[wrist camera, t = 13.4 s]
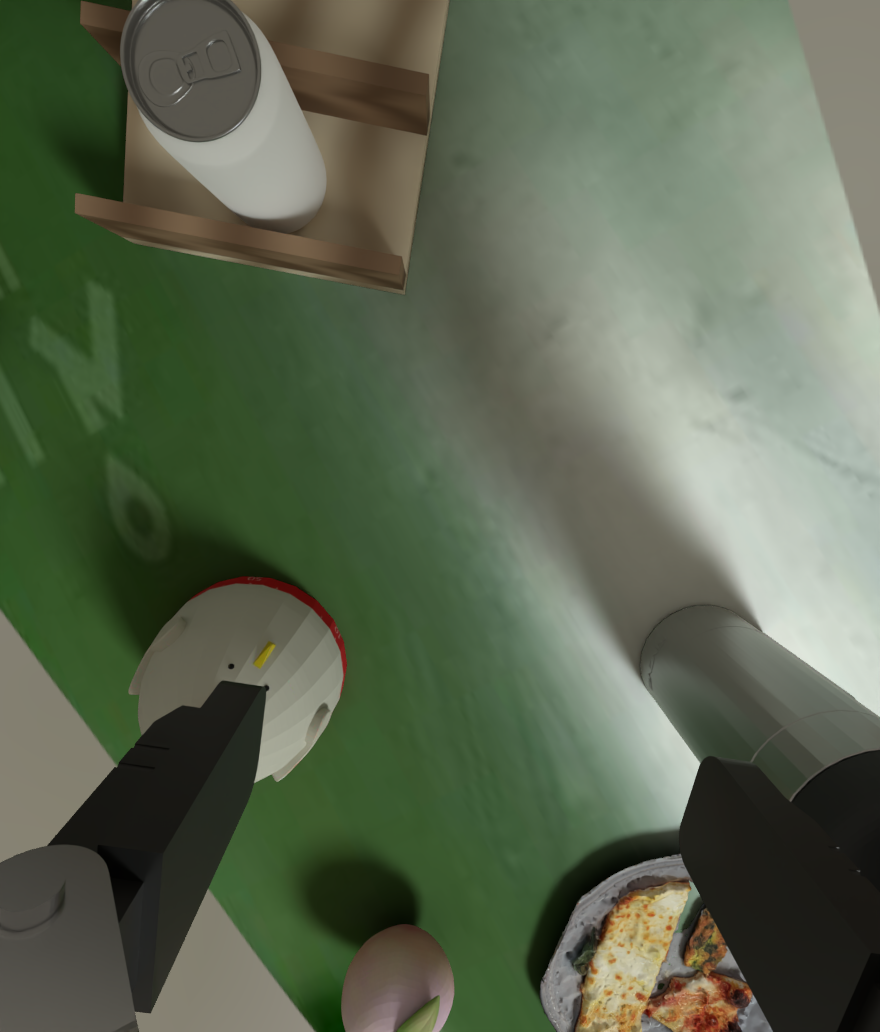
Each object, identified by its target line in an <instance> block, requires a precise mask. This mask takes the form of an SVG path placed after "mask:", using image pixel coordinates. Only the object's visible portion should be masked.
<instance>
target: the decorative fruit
mask: <svg viewBox="0 0 880 1032" xmlns="http://www.w3.org/2000/svg"><path fill="white" fill-rule="evenodd" d="M453 997H454V980H453V974H452V970H451V967H450V964H449V961H448V959H447V956H446V954H445V953H444V951H443V949H442V948H441V946H440V945H439V943H438V942H437V941H436V940H435V939H434V938H433V937H432V936H431V935H430V934H429V933H427V932H426V931H424V930H422V929H421V928H419V927H417V926H414V925H409V924H401V925H396V926H392V927H389V928H387V929H384V930H383V931H381V932H379V933H377V934H375V935H374V936H372V937H371V938H370V939H368V940H367V941H366V942H365V943H364V944H363V946H362V947H361V948H360V949H359V951H358V952H357V954H356V955H355V957H354V958H353V960H352V962H351V964H350V966H349V968H348V971H347V974H346V977H345V981H344V986H343V993H342V1006H341V1007H342V1018H343V1024H344V1027H345V1030H346V1032H439V1031H440V1030H441V1028H442V1027H443V1025H444V1023H445V1022H446V1020H447V1017H448V1015H449V1012H450V1010H451V1007H452V1003H453Z"/></svg>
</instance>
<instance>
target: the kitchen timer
mask: <svg viewBox="0 0 880 1032" xmlns="http://www.w3.org/2000/svg"><path fill="white" fill-rule="evenodd" d="M346 667H347V662H346V654H345V647H344V641H343V639H342V637H341V635H340V633H339V630H338V628H337V626H336V624H335V622H334V620H333V618H332V617H331V616H330V615H329V614H328V613H327V612H326V610H325V609H324V608H323V607H322V606H321V605H320V604H319V602H318V601H317V600H315V599H314V598H312V597H311V596H309V595H308V594H306V593H305V592H303V591H302V590H300V589H299V588H297V587H296V586H293V585H290V584H287V583H284V582H281V581H278V580H275V579H272V578H264V577H245V576H243V577H238V578H234V579H229V580H225V581H221V582H217V583H215V584H214V585H212V586H210V587H208V588H207V589H205V590H203V591H201V592H199V593H198V594H196V595H195V596H194V597H192V598H191V599H190V600H189V601H188V602H186V604H185V605H184V606H183V607H182V608H181V609H180V610H179V611H178V612H177V613H176V614H175V615H174V616H173V618H172V619H171V620H169V621H168V622H167V623H166V624H165V625H164V626H163V628H162V629H161V630H160V632H159V633H158V635H157V636H156V638H155V639H154V641H153V642H152V644H151V645H150V647H149V648H148V650H147V652H146V653H145V655H144V657H143V659H142V661H141V663H140V664H139V667H138V669H137V671H136V673H135V675H134V677H133V680H132V682H131V685H130V688H129V694H131V695H140V696H139V706H138V720H139V725H140V730H141V734H142V735H143V734H144V733H145V732H146V730H147V729H148V728H149V727H150V726H151V725H152V723H153V722H154V721H156V720H158V719H159V718H161V717H163V716H165V715H166V714H168V713H170V712H171V711H173V710H175V709H177V708H178V707H180V706H182V705H185V706H191V707H198V708H201V706H202V705H203V704H204V702H205V701H206V700H207V698H208V697H209V696H210V694H211V693H212V692H213V690H214V689H215V688H216V686H217V685H218V684H219V683H220V682H221V681H223V680H225V681H231V682H238V683H244V684H251V685H257V686H264V687H265V688H266V703H265V712H264V720H263V729H262V737H261V745H260V754H259V762H258V768H257V773H256V777H255V781H254V783H255V782H257V781H259V780H261V779H263V778H265V777H267V776H269V775H271V774H272V775H273V777H274V779H275V781H280V780H281V779H282V778H284V777H285V776H286V775H287V774H288V773H289V772H290V771H291V770H292V769H293V768H294V767H295V766H296V765H297V764H298V763H299V762H300V761H301V760H302V759H303V757H304V756H305V755H306V754H307V753H308V752H309V751H310V749H311V748H312V747H313V745H314V744H315V742H316V741H317V739H318V738H319V736H320V735H321V733H322V732H323V730H324V729H325V727H326V726H327V724H328V722H329V720H330V717H331V713H332V712H333V710H334V708H335V706H336V704H337V702H338V700H339V698H340V695H341V692H342V689H343V684H344V678H345V673H346Z"/></svg>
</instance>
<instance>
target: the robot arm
mask: <svg viewBox="0 0 880 1032" xmlns="http://www.w3.org/2000/svg"><path fill="white" fill-rule="evenodd" d="M640 666H641V675H642V678H643V682H644V685H645V686H646V688H647V689H648V691H649V693H650V694H651V696H652V697H653V698H654V700H655V701H656V703H657V704H658V705H659V707H660V708H661V709H662V711H663V712H664V714H665V715H666V716H667V718H668V719H669V721H670V722H671V724H672V725H673V726H674V728H675V729H676V730H677V732H678V733H679V734H680V736H681V737H682V739H683V740H684V741H685V743H686V744H687V745H688V747H689V748H690V750H691V751H692V752H693V754H694V755H695V756H696V758H697V759H698V760H699V762H700V763H701V764H700V766H699V769H698V772H697V775H696V778H695V782H694V785H693V788H692V791H691V794H690V797H689V800H688V803H687V806H686V810H685V813H684V816H683V819H682V822H681V826H680V831H679V846H680V853H681V857H682V860H683V863H684V866H685V868H686V870H687V872H688V873H689V875H690V877H691V879H692V881H693V883H694V885H695V887H696V888H697V890H698V892H699V894H700V896H701V898H702V900H703V901H704V903H705V905H706V907H707V909H708V911H709V913H710V915H711V916H712V918H713V920H714V922H715V924H716V926H717V928H718V930H719V931H720V933H721V935H722V937H723V939H724V941H725V943H726V945H727V946H728V948H729V950H730V952H731V954H732V956H733V958H734V960H735V961H736V963H737V965H738V967H739V969H740V971H741V973H742V974H743V976H744V978H745V980H746V982H747V984H748V986H749V988H750V989H751V991H752V993H753V995H754V997H755V999H756V1001H757V1003H758V1004H759V1006H760V1008H761V1010H762V1012H763V1014H764V1016H765V1018H766V1019H767V1021H768V1023H769V1025H770V1027H771V1029H772V1031H773V1032H880V717H879V716H878V715H876V714H875V713H873V712H872V711H871V710H869V709H868V708H866V707H865V706H864V705H862V704H861V703H859V702H858V701H857V700H856V699H855V698H854V697H853V696H852V695H850V694H849V693H848V692H846V691H845V690H843V689H842V688H841V687H839V686H838V685H836V684H835V683H834V682H832V681H831V680H829V679H828V678H827V677H825V676H824V675H822V674H821V673H820V672H818V671H817V670H815V669H814V668H813V667H811V666H810V665H808V664H807V663H806V662H804V661H803V660H801V659H800V658H799V657H797V656H796V655H794V654H793V653H792V652H790V651H789V650H787V649H786V648H785V647H783V646H782V645H780V644H779V643H778V642H776V641H775V640H773V639H772V638H771V637H769V636H768V635H766V634H765V633H762V632H761V631H759V630H758V629H757V628H755V627H754V626H752V625H751V624H749V623H748V622H747V621H745V620H744V619H742V618H741V617H740V616H738V615H737V614H735V613H734V612H732V611H730V610H727V609H725V608H722V607H717V606H711V605H702V606H693V607H689V608H685V609H682V610H680V611H678V612H675V613H673V614H672V615H670V616H669V617H667V618H666V619H664V620H663V621H662V622H661V623H660V624H659V625H658V626H657V627H656V628H655V629H654V630H653V631H652V633H651V634H650V636H649V637H648V639H647V640H646V643H645V645H644V648H643V650H642V655H641V661H640ZM265 703H266V688H265V687H264V686H257V685H251V684H244V683H238V682H231V681H225V680H223V681H221V682H220V683H219V684H218V685H217V686H216V688H215V689H214V690H213V692H212V693H211V694H210V696H209V697H208V698H207V700H206V701H205V702H204V704H203V705H202V706H201V708H198V707H191V706H185V705H182V706H180V707H178V708H177V709H175V710H173V711H171V712H170V713H168V714H166V715H165V716H163V717H161V718H159V719H158V720H156V721H154V722H153V723H152V725H151V726H150V727H149V728H148V729H147V730H146V732H145V733H144V734H143V735H142V736H141V737H140V739H139V740H138V741H137V742H136V743H135V746H134V748H131V749H130V750H129V751H128V752H127V754H126V755H125V756H124V757H123V758H122V759H121V761H120V762H119V765H118V767H117V768H116V767H115V768H114V769H113V770H112V771H111V772H110V773H109V775H108V776H107V777H106V778H105V779H104V780H103V781H102V783H101V784H100V785H99V786H98V787H97V788H96V790H95V791H94V792H93V793H92V794H91V796H90V797H89V798H88V799H87V800H86V801H85V802H84V804H83V805H82V806H81V807H80V808H79V809H78V810H77V812H76V813H75V814H74V815H73V816H72V817H71V819H70V820H69V821H68V822H67V823H66V824H65V826H64V827H63V828H62V829H61V830H60V831H59V833H58V834H57V835H56V836H55V837H54V838H53V840H52V841H51V842H50V843H49V844H48V845H47V846H45V847H40V848H36V849H32V850H29V851H26V852H24V853H21V854H18V855H15V856H13V857H11V858H9V859H7V860H5V861H3V862H1V863H0V1032H139V1029H138V1025H137V1020H136V1015H135V1012H143V1013H151V1011H152V1009H153V1007H154V1005H155V1003H156V1001H157V998H158V996H159V994H160V992H161V989H162V987H163V985H164V983H165V981H166V979H167V977H168V974H169V972H170V970H171V968H172V966H173V964H174V961H175V959H176V957H177V955H178V953H179V950H180V948H181V946H182V944H183V942H184V940H185V937H186V935H187V933H188V931H189V929H190V927H191V924H192V922H193V920H194V917H195V916H196V914H197V911H198V909H199V907H200V905H201V903H202V900H203V898H204V896H205V894H206V891H207V890H208V887H209V885H210V883H211V881H212V879H213V877H214V874H215V872H216V870H217V868H218V866H219V864H220V861H221V859H222V857H223V855H224V853H225V850H226V848H227V846H228V844H229V842H230V840H231V837H232V835H233V833H234V831H235V829H236V827H237V824H238V822H239V820H240V818H241V816H242V814H243V811H244V809H245V807H246V805H247V802H248V800H249V797H250V795H251V792H252V788H253V785H254V781H255V777H256V773H257V768H258V762H259V754H260V745H261V737H262V729H263V720H264V712H265Z"/></svg>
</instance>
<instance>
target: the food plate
mask: <svg viewBox="0 0 880 1032" xmlns="http://www.w3.org/2000/svg"><path fill="white" fill-rule="evenodd" d="M689 881H691V882H693V881H692V879H691V877H690V875H689V873H688V872H687V870H686V868H685V866H684V863H683V860H682V857H681V854H678V855H672V857H669V856H667V857H664V858H663V859H662V858H659V859H656V860H655V859H652V860H651V861H650V860H649V861H648V862H647V861H645V862H641V863H639V864H636V865H634V866H630V867H629V868H625V869H623V871H620V872H618V873H616V874H615V875H613V876H611V877H609V878H607V879H606V880H605V881H602V882H601V883H600V884H598V885H597V886H596V887H594V888H593V889H592V890H591V891H589V892H588V893H587V894H586V895H584V896H582V897H581V898H580V900H578V903H577V904H576V907H575V909H574V911H573V912H572V915H571V916H570V919H569V922H568V924H567V926H565V927H566V928H565V931H563V932H562V936H561V937H560V940H559V942H558V945H557V947H556V948H555V952H554V955H553V956H552V959H550V963H549V965H548V968H547V971H545V972H546V973H545V975H544V977H542V978H543V980H544V981H542V980H541V983H540V984H541V985H540V986H541V987H540V988H541V990H540V1000H541V1004H542V1007H543V1009H544V1013H545V1014H546V1015H547V1017H548V1019H549V1020H550V1022H551V1024H552V1025H553V1027H554V1028H555V1030H556V1032H773V1031H772V1029H771V1027H770V1025H769V1023H768V1021H767V1019H766V1018H765V1016H764V1014H763V1012H762V1010H761V1008H760V1006H759V1004H758V1003H757V1001H756V999H755V997H754V995H753V993H752V991H751V989H750V988H749V986H748V984H747V982H746V980H745V978H744V976H743V974H742V973H741V971H740V969H739V967H738V965H737V963H736V961H735V960H734V958H733V956H732V954H731V952H730V950H729V948H728V946H727V945H726V943H725V941H724V939H723V937H722V935H721V933H720V931H719V930H718V928H717V926H716V924H715V922H714V920H713V918H712V916H711V915H710V913H709V911H708V909H707V907H706V905H705V903H704V904H703V905H702V906H701V907H700V909H699V911H698V913H697V915H696V917H695V918H694V921H693V920H692V921H693V923H692V924H691V925H689V926H691V927H689V928H688V929H684V930H683V932H682V933H674V931H676V930H677V929H678V924H679V921H680V915H681V913H682V912H683V909H684V906H685V904H686V901H687V900H688V892H689V891H690V890H691V887H690V883H689ZM692 921H691V922H692ZM686 934H687V935H688V936H685V935H686ZM679 945H680V946H679ZM672 957H673V958H672ZM675 957H677V958H675ZM669 963H671V964H670V965H668V964H669ZM734 970H735V971H734ZM667 981H668V982H667ZM660 983H663V984H665V986H664V987H663V988H662V989H660V990H659V989H658V988H657V987H658V984H660Z"/></svg>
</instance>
